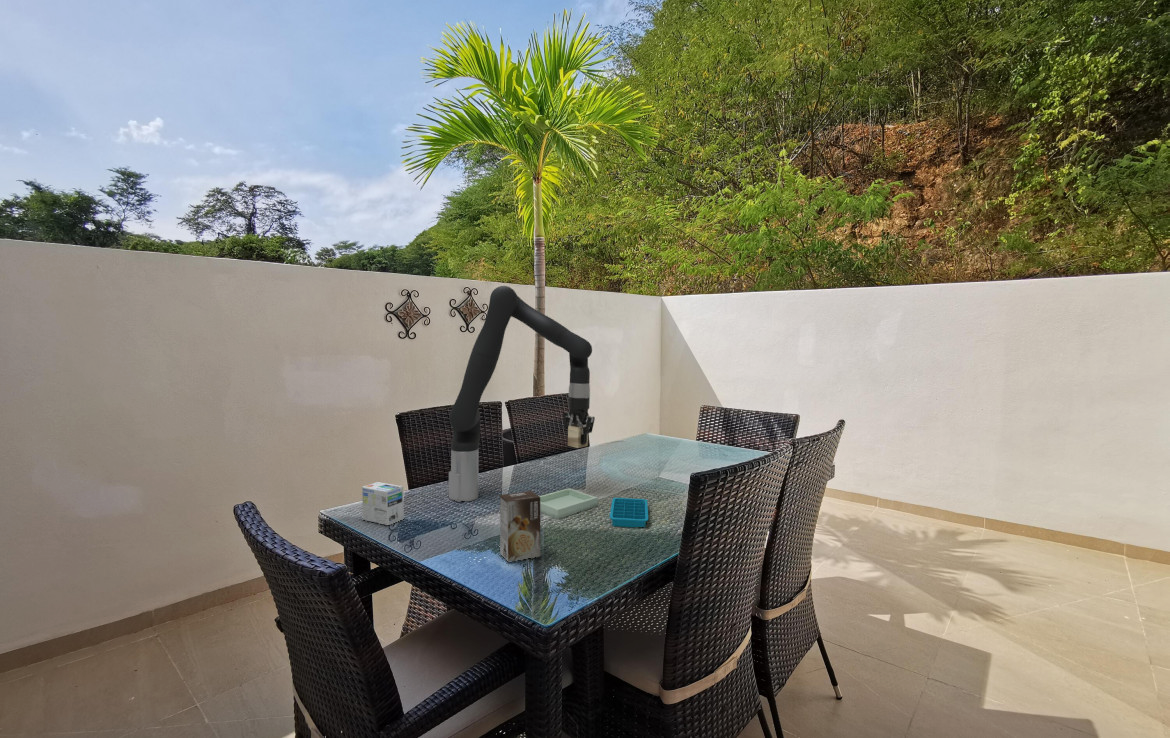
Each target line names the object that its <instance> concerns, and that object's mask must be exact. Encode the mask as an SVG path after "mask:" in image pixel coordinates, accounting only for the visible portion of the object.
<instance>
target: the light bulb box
mask: <svg viewBox="0 0 1170 738" xmlns="http://www.w3.org/2000/svg"><path fill="white" fill-rule="evenodd" d="M361 491H362V493H361V495H362V498H361V499H362V501H361V502H362V520H363V519H365V520H369V521H374V522H378V523H381V524H385V525H390V524H392V525H394V524H393V523H395V522H397V523H399V522H401V521H400V520H402V521H404V520H405V518H404V517H405V510H404V485H398V484H392V483H387V482H380V481H377V482H376V481H375V482H373V483H370V484H367V485H363V486H362V487H361ZM403 519H404V520H403ZM398 521H399V522H398ZM395 524H396V523H395ZM390 526H391V525H390Z"/></svg>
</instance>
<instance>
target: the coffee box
mask: <svg viewBox="0 0 1170 738" xmlns="http://www.w3.org/2000/svg"><path fill="white" fill-rule="evenodd" d="M539 496H540V495H539V494H537V493H535V492H533V491H532V490H527V491H521V492H520V491H519V492H513V493H512V492H511V493H505V494H500V495H499V517H500V518H499V527H500V528H499V534H500V536H499V538H500V539H499V542H500V543H499V545H500V547H499V548H500V549H499V552H500V553H501V554H500V555H502V556H503V557H504V558H505V559H506V560H507V561H508V562H510V561H516V562H518V561H517V560H521V561H524V560H523V559H526V560H529V559H528V558H531V559H536V558H541V554H542V553H541V552H542V551H541V512H540V497H539ZM502 556H501V557H502ZM503 557H502V558H503ZM535 557H536V558H535ZM504 558H503V559H504ZM505 559H504V560H505ZM506 560H505V561H506ZM507 561H506V562H507Z"/></svg>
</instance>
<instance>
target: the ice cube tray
mask: <svg viewBox="0 0 1170 738" xmlns="http://www.w3.org/2000/svg"><path fill="white" fill-rule="evenodd" d="M609 519H610V520H611V523H612V524H611V525H612V526H613V527H617V526H619V527H620V528H635V527H644V528H645V527H646V523H647V522H648V521H649V508H648V499H644V498H630V497H613V498H612V500H611V507H610V512H609Z"/></svg>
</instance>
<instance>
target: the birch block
mask: <svg viewBox="0 0 1170 738" xmlns="http://www.w3.org/2000/svg"><path fill="white" fill-rule="evenodd" d="M583 428H584V430H585V427H583ZM588 437H589V433H588V434H587V443H586V444H585V445H581V428H579V426H578V425H575V426H568V429H567V446H568V447H572V448H575V449H579V448H584V447H588V445H589V444H588V443H589V441H588V440H589V438H588Z"/></svg>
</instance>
